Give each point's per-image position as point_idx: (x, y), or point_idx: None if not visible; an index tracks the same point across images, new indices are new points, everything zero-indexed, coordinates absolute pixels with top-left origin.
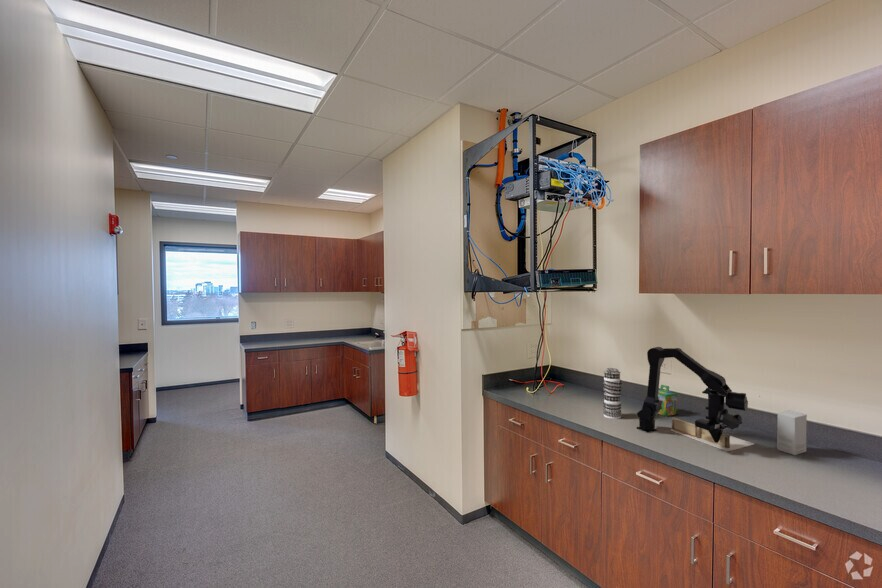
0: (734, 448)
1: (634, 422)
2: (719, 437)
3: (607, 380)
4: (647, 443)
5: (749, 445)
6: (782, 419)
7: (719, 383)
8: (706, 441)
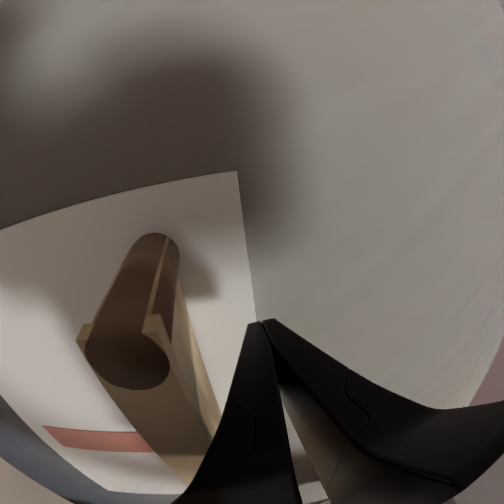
0: (94, 213)
1: (323, 493)
2: (261, 364)
3: None
4: (481, 357)
5: None
6: None
7: None
8: None
